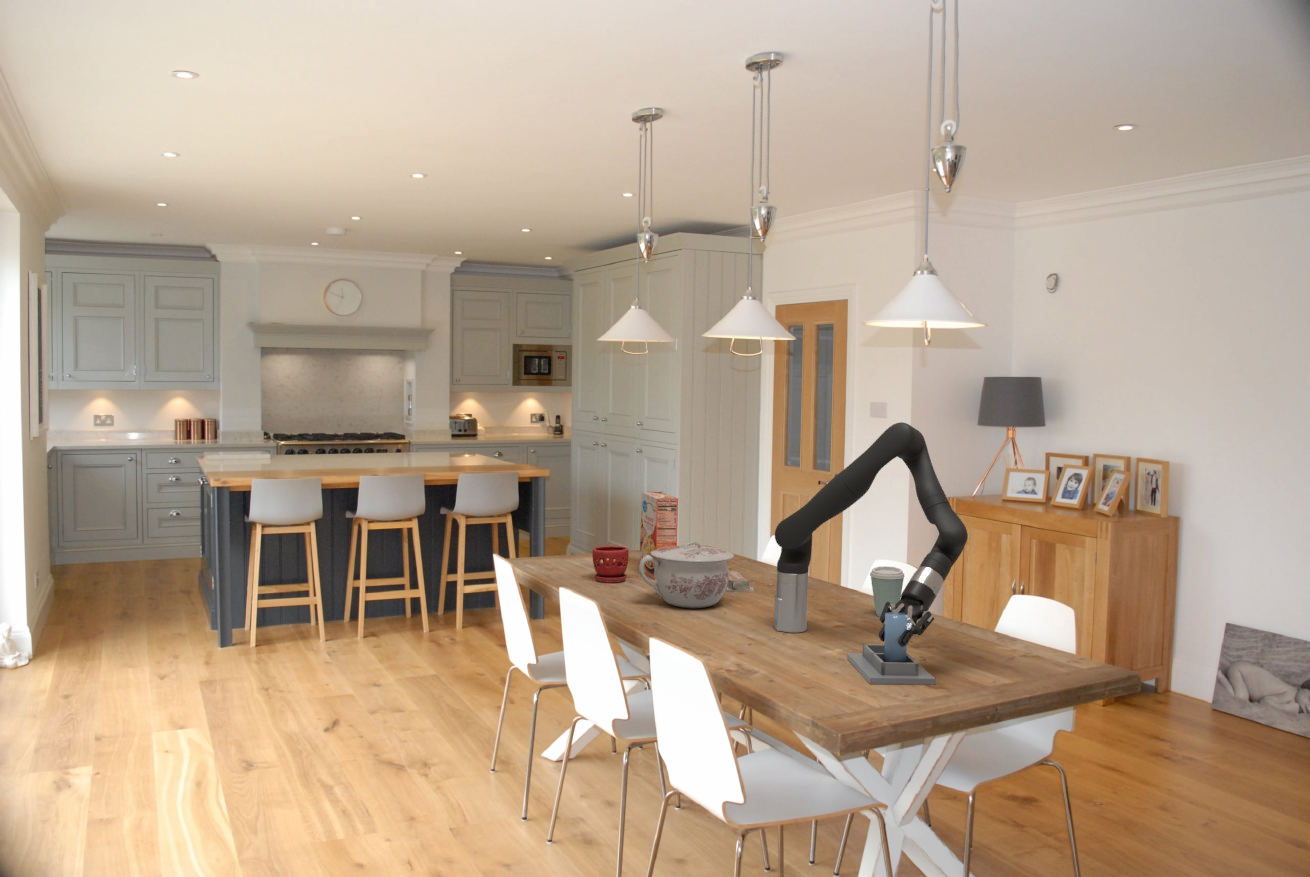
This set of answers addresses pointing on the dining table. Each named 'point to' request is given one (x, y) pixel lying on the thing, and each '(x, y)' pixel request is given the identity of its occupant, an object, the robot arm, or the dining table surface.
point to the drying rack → (888, 668)
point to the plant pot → (610, 563)
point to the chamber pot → (689, 574)
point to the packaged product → (738, 582)
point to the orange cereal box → (657, 525)
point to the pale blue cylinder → (894, 637)
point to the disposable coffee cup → (886, 586)
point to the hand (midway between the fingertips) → (891, 641)
